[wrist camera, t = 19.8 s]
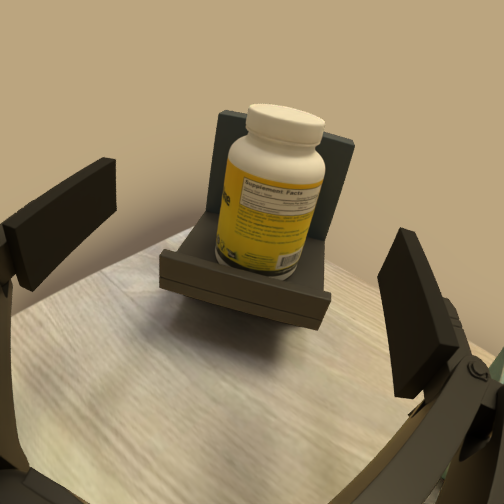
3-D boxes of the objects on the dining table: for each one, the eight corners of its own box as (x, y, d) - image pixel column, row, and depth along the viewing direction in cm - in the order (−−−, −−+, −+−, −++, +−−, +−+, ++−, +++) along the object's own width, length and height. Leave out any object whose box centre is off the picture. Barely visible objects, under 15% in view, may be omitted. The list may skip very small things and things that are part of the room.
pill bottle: (227, 229, 27) (250, 97, 21) (299, 249, 27) (337, 118, 20) (201, 272, 22) (222, 107, 16) (289, 297, 21) (339, 135, 15)
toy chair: (160, 334, 24) (163, 143, 16) (205, 252, 34) (225, 109, 26) (297, 372, 24) (374, 193, 15) (307, 279, 33) (352, 139, 25)
